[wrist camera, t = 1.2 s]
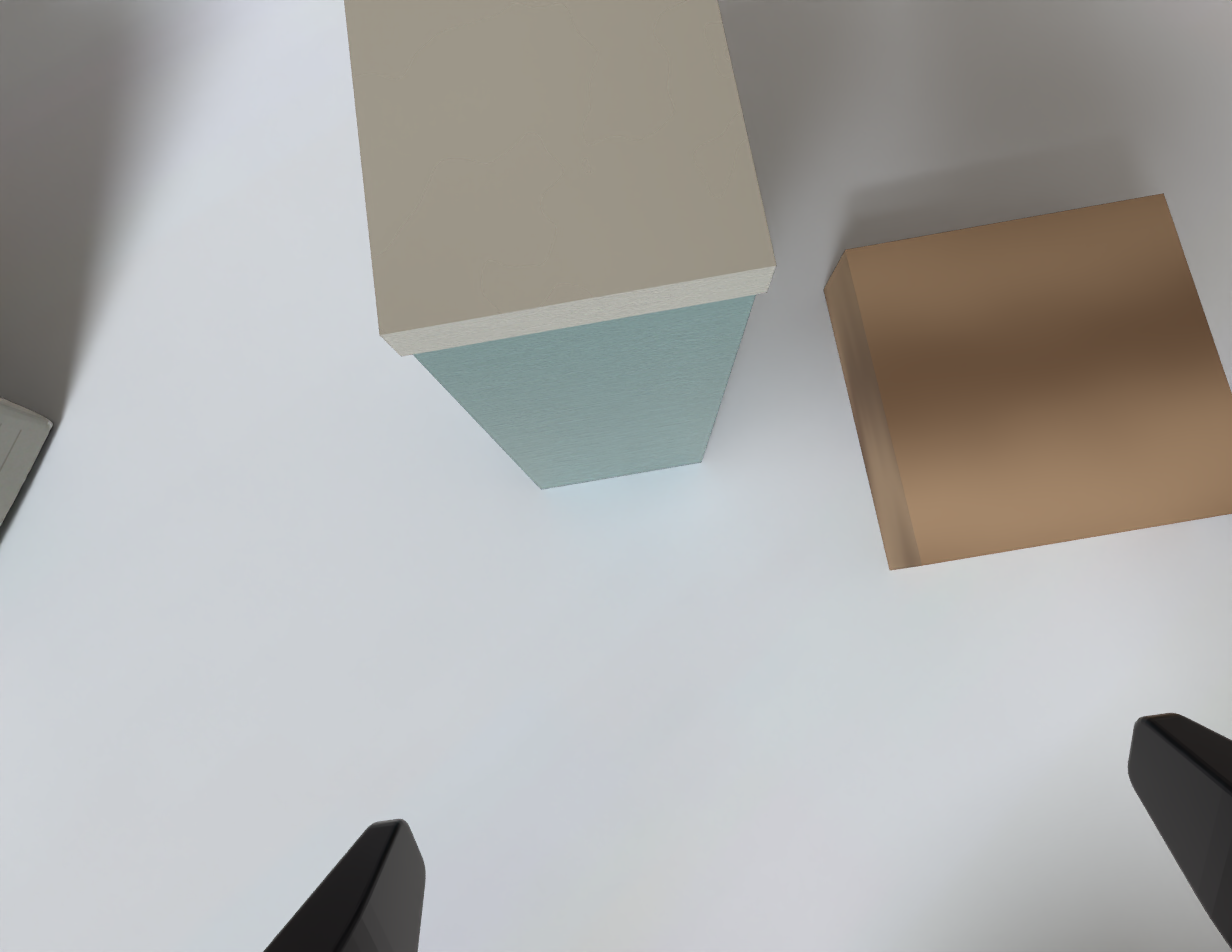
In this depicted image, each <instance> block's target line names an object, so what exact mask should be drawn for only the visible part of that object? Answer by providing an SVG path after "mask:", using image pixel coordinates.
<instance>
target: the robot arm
mask: <svg viewBox="0 0 1232 952" xmlns="http://www.w3.org/2000/svg"><path fill="white" fill-rule="evenodd" d="M1128 774H1129V778H1130V781H1131V783H1132V786H1133V788H1134V790H1135V791H1136V793H1137V795H1138V797H1139V798H1140V800H1141V802H1142V803H1143V805H1144V807H1145V809H1146V810H1147V812H1148V814H1149V815H1150V817H1151V819H1152V821H1153V822H1154V824H1155V826H1156V827H1157V829H1158V831H1159V833H1160V834H1161V836H1162V838H1163V839H1164V841H1165V843H1166V845H1167V846H1168V848H1169V850H1170V851H1171V853H1172V855H1173V857H1174V858H1175V860H1176V862H1177V863H1178V865H1179V867H1180V869H1181V870H1182V872H1183V874H1184V875H1185V877H1186V879H1187V881H1188V882H1189V884H1190V886H1191V887H1192V889H1193V891H1194V893H1195V894H1196V896H1197V898H1198V899H1199V901H1200V902H1201V904H1202V906H1203V907H1204V909H1205V911H1206V912H1207V914H1208V915H1209V917H1210V919H1211V920H1212V922H1213V923H1214V924H1215V926H1216V927H1217V929H1218V930H1219V932H1220V933H1221V935H1222V936H1223V938H1224V939H1225V941H1226V942H1227V943H1228V945H1229V946H1230V948H1231V949H1232V740H1230V739H1228V738H1226V737H1224V736H1222V735H1220V734H1218V733H1216V732H1214V731H1212V730H1210V729H1208V728H1206V727H1204V726H1202V725H1200V724H1198V723H1196V722H1194V721H1192V720H1190V719H1188V718H1186V717H1184V716H1182V715H1179V714H1175V713H1165V714H1158V715H1151V716H1143V717H1141V718H1139V719H1138V720H1137V721H1136V722H1135V725H1134V730H1133V736H1132V742H1131V748H1130V754H1129V760H1128ZM425 879H426V878H425V865H424V861H423V858H422V856H421V853H420V851H419V848H418V846H417V844H416V841H415V839H414V837H413V834H412V832H411V829H410V827H409V825H408V823H407V822H406V821H405V820H403V819H394V820H387V821H380V822H375V823H373V824H372V825H370V826H369V827H368V828H367V829H366V830H365V831H364V832H363V834H362V835H361V836H360V837H359V838H358V840H357V841H356V842H355V843H354V844H353V846H352V847H351V848H350V849H349V850H348V852H347V853H346V854H345V855H344V856H343V857H342V859H341V860H340V861H339V862H338V863H337V865H336V866H335V867H334V868H333V869H332V871H331V872H330V873H329V874H328V875H327V876H326V878H325V879H324V880H323V881H322V882H321V884H320V885H319V886H318V887H317V888H316V890H315V891H314V892H313V893H312V894H311V895H310V897H309V898H308V899H307V900H306V901H305V903H304V904H303V905H302V906H301V907H300V909H299V910H298V911H297V912H296V913H295V915H294V916H293V917H292V918H291V919H290V920H289V922H288V923H287V924H286V925H285V926H284V928H283V929H282V930H281V931H280V932H279V934H278V935H277V936H276V937H275V938H274V939H273V941H272V942H271V943H270V944H269V945H268V947H267V948H266V949H265V950H264V951H263V952H418V943H419V934H420V925H421V916H422V907H423V898H424V889H425Z"/></svg>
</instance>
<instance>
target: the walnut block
mask: <svg viewBox="0 0 1232 952" xmlns="http://www.w3.org/2000/svg"><path fill="white" fill-rule="evenodd" d="M824 294H825V298H826V302H827V307H828V311H829V315H830V319H831V324H832V328H833V332H834V336H835V341H836V345H837V349H838V353H839V358H840V362H841V366H842V370H843V374H844V379H845V383H846V387H847V391H848V396H849V400H850V404H851V408H852V413H853V417H854V421H855V425H856V430H857V434H858V438H859V442H860V447H861V451H862V455H863V459H864V464H865V468H866V472H867V476H868V480H869V485H870V489H871V493H872V497H873V502H874V506H875V510H876V514H877V519H878V523H879V527H880V531H881V536H882V540H883V544H884V548H885V553H886V557H887V561H888V565H889V570H896V569H903V568H909V567H916V566H923V565H929V564H934V563H940V562H946V561H952V560H958V559H964V558H970V557H976V556H982V555H988V554H994V553H1000V552H1006V551H1012V550H1018V549H1024V548H1030V547H1036V546H1042V545H1048V544H1054V543H1060V542H1066V541H1072V540H1078V539H1084V538H1090V537H1096V536H1102V535H1107V534H1113V533H1119V532H1125V531H1131V530H1137V529H1143V528H1149V527H1155V526H1161V525H1167V524H1173V523H1179V522H1185V521H1191V520H1197V519H1203V518H1209V517H1215V516H1221V515H1227V514H1232V393H1231V390H1230V387H1229V384H1228V381H1227V378H1226V375H1225V372H1224V370H1223V367H1222V364H1221V361H1220V358H1219V355H1218V352H1217V349H1216V346H1215V343H1214V340H1213V337H1212V334H1211V331H1210V328H1209V325H1208V323H1207V320H1206V317H1205V314H1204V311H1203V308H1202V305H1201V302H1200V299H1199V296H1198V293H1197V290H1196V287H1195V284H1194V281H1193V278H1192V275H1191V273H1190V270H1189V267H1188V264H1187V261H1186V258H1185V255H1184V252H1183V249H1182V246H1181V243H1180V240H1179V237H1178V234H1177V231H1176V228H1175V225H1174V223H1173V220H1172V217H1171V214H1170V211H1169V208H1168V205H1167V202H1166V199H1165V196H1164V193H1163V194H1158V195H1152V196H1146V197H1141V198H1135V199H1129V200H1124V201H1118V202H1113V203H1107V204H1101V205H1096V206H1090V207H1084V208H1079V209H1073V210H1067V211H1062V212H1056V213H1050V214H1045V215H1039V216H1033V217H1028V218H1022V219H1016V220H1011V221H1005V222H999V223H994V224H988V225H983V226H977V227H971V228H966V229H960V230H954V231H949V232H943V233H937V234H932V235H926V236H920V237H915V238H909V239H903V240H898V241H892V242H886V243H881V244H875V245H869V246H864V247H858V248H852V249H847V250H845V251H844V253H843V255H842V257H841V258H840V260H839V262H838V264H837V266H836V268H835V270H834V271H833V273H832V275H831V277H830V279H829V281H828V283H827V284H826V286H825V288H824Z"/></svg>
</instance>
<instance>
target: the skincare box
mask: <svg viewBox="0 0 1232 952" xmlns="http://www.w3.org/2000/svg"><path fill="white" fill-rule="evenodd" d="M52 425H53V423H52V422H51V421H50V420H49V419H48V418H46V417H44V416H42V415H40V414H38V413H36V412H34V411H32V410H29V409H27V408H24V407H22V406H20V405H17V404H15V403H12V402H10V401H8V400H5V399H3V398H1V397H0V526H1V524H2V522H3V520H4V519H5V517H6V515H7V513H8V511H9V509H10V507H11V506H12V504H13V502H14V500H15V498H16V496H17V494H18V492H19V490H20V488H21V486H22V485H23V483H24V481H25V479H26V477H27V475H28V473H29V471H30V470H31V468H32V466H33V464H34V462H35V460H36V458H37V456H38V454H39V452H40V450H41V447H42V445H43V443H44V441H45V440H46V438H47V436H48V434H49V431H50V429H51V428H52Z"/></svg>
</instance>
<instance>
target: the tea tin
mask: <svg viewBox="0 0 1232 952" xmlns="http://www.w3.org/2000/svg"><path fill="white" fill-rule="evenodd" d="M344 4H345V13H346V22H347V32H348V41H349V51H350V60H351V70H352V79H353V89H354V98H355V107H356V117H357V126H358V136H359V145H360V155H361V164H362V173H363V183H364V192H365V202H366V211H367V221H368V230H369V239H370V249H371V258H372V268H373V277H374V287H375V296H376V306H377V315H378V324H379V334H380V336H381V337H382V338H383V339H384V340H385V341H386V342H387V343H388V344H389V345H390V346H391V347H392V348H393V349H394V350H395V351H396V352H397V353H398V354H399V355H400V356H401V357H402V356H407V355H414V356H415V357H416V358H417V359H418V361H419V362H420V363H421V364H422V365H423V366H424V367H425V368H426V369H427V370H428V371H429V372H430V373H431V374H432V375H433V376H434V377H435V378H436V379H437V381H438V382H439V383H440V384H441V385H442V386H443V387H444V388H445V389H446V390H447V391H448V392H449V393H450V394H451V395H452V396H453V397H454V398H455V399H456V400H457V402H458V403H459V404H460V405H461V406H462V407H463V408H464V409H465V410H466V411H467V412H468V413H469V414H470V415H471V416H472V417H473V418H474V419H475V420H476V422H477V423H478V424H479V425H480V426H481V427H482V428H483V429H484V430H485V431H486V432H487V433H488V434H489V435H490V436H491V437H492V438H493V439H494V440H495V442H496V443H497V444H498V445H499V446H500V447H501V448H502V449H503V450H504V451H505V452H506V453H507V454H508V455H509V456H510V457H511V458H512V459H513V460H514V461H515V463H516V464H517V465H518V466H519V467H520V468H521V469H522V470H523V471H524V472H525V473H526V474H527V475H528V476H529V477H530V478H531V479H532V480H533V481H534V483H535V484H536V485H537V486H538V487H539V488H540V489H541V490H542V489H548V488H553V487H559V486H565V485H571V484H577V483H583V482H589V481H595V480H600V479H606V478H612V477H618V476H624V475H630V474H636V473H642V472H647V471H653V470H659V469H665V468H671V467H677V466H683V465H689V464H695V463H700V462H702V459H703V456H704V452H705V449H706V446H707V443H708V440H709V437H710V434H711V431H712V428H713V425H714V422H715V419H716V416H717V413H718V409H719V406H720V403H721V400H722V397H723V394H724V391H725V388H726V385H727V382H728V379H729V376H730V373H731V369H732V366H733V363H734V360H735V357H736V354H737V351H738V348H739V345H740V342H741V339H742V336H743V333H744V329H745V326H746V323H747V320H748V317H749V314H750V311H751V308H752V305H753V302H754V299H755V296H756V294H762V293H767V291H768V288H769V285H770V282H771V279H772V277H773V274H774V271H775V268H776V261H775V257H774V252H773V248H772V243H771V239H770V234H769V230H768V225H767V221H766V216H765V212H764V207H763V203H762V198H761V194H760V189H759V185H758V180H757V176H756V171H755V167H754V162H753V158H752V153H751V149H750V144H749V140H748V135H747V131H746V126H745V122H744V117H743V113H742V108H741V104H740V99H739V95H738V90H737V86H736V81H735V77H734V72H733V68H732V63H731V59H730V54H729V50H728V45H727V41H726V36H725V32H724V27H723V23H722V18H721V14H720V9H719V5H718V0H344Z"/></svg>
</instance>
